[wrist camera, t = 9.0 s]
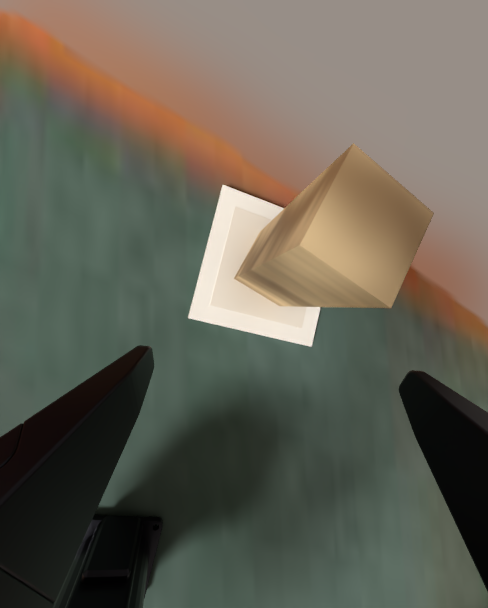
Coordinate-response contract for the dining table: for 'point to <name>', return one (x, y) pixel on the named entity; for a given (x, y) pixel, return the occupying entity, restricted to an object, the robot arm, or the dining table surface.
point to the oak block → (339, 240)
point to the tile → (231, 293)
